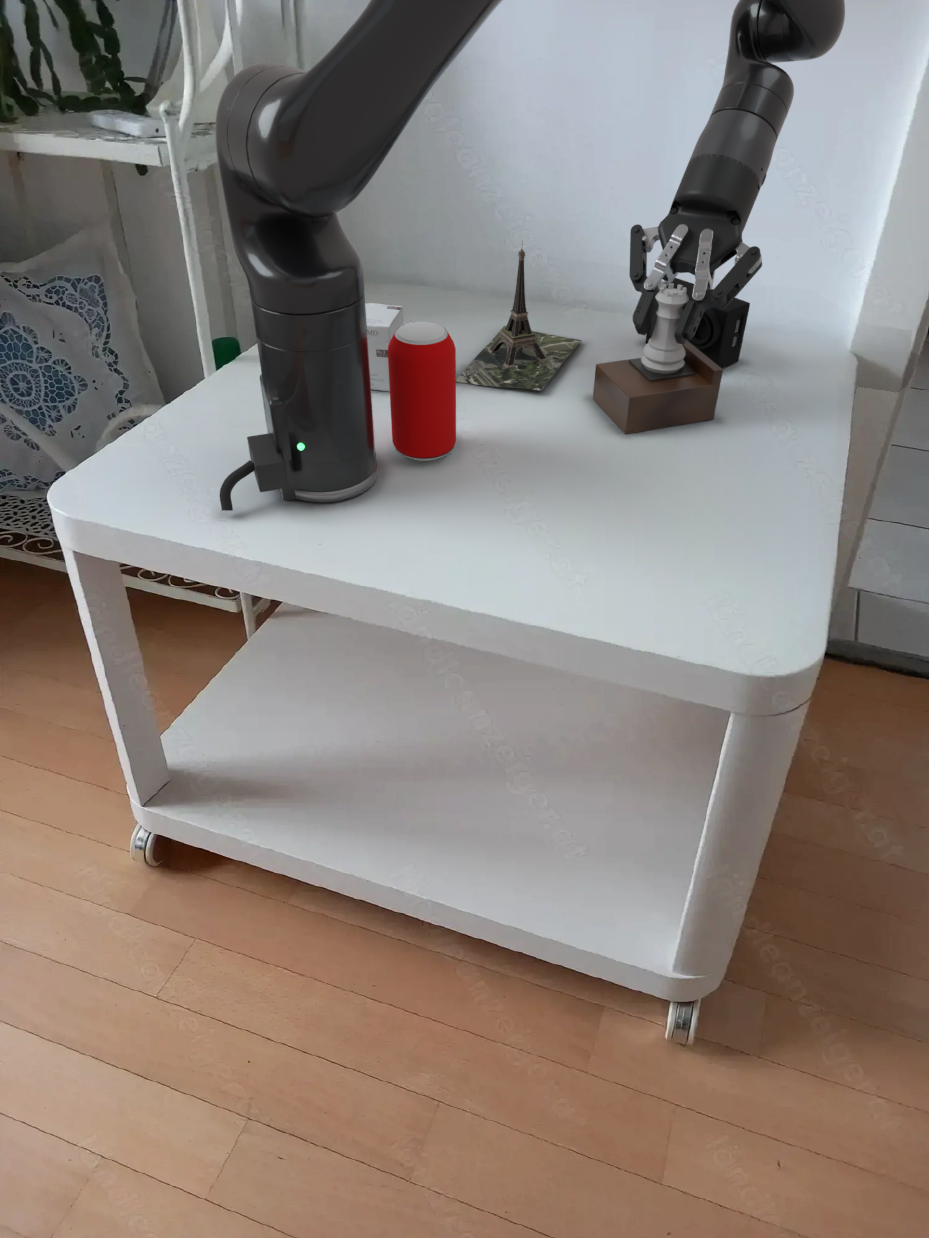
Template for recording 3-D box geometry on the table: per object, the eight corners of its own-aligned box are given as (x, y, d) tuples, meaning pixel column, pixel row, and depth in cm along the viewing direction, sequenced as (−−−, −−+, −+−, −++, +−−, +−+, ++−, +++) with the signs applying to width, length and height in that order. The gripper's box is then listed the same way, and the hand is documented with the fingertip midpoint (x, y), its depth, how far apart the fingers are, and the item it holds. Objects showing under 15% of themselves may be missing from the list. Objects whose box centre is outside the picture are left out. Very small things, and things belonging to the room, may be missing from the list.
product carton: (338, 388, 101) (332, 321, 97) (353, 364, 106) (348, 300, 101) (393, 392, 101) (390, 326, 96) (406, 368, 105) (403, 304, 100)
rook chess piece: (683, 377, 94) (696, 298, 89) (639, 373, 95) (649, 294, 90) (684, 358, 98) (697, 281, 92) (641, 354, 98) (651, 278, 93)
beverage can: (413, 473, 88) (409, 351, 80) (381, 445, 92) (374, 327, 84) (468, 455, 90) (469, 335, 83) (434, 429, 94) (431, 312, 87)
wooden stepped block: (625, 434, 94) (631, 383, 90) (592, 399, 100) (597, 350, 96) (713, 419, 96) (723, 369, 93) (676, 386, 102) (684, 337, 98)
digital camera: (636, 346, 110) (644, 287, 105) (666, 334, 113) (674, 276, 108) (709, 376, 104) (720, 314, 99) (738, 362, 107) (750, 301, 102)
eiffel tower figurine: (542, 397, 100) (550, 271, 91) (454, 381, 103) (454, 257, 94) (581, 343, 111) (592, 226, 102) (501, 330, 113) (504, 215, 105)
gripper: (650, 141, 92) (584, 304, 92) (793, 162, 86) (723, 335, 86) (664, 186, 99) (603, 337, 99) (797, 207, 93) (732, 368, 93)
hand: (659, 335), depth 92 cm, fingers open, 3 cm apart
